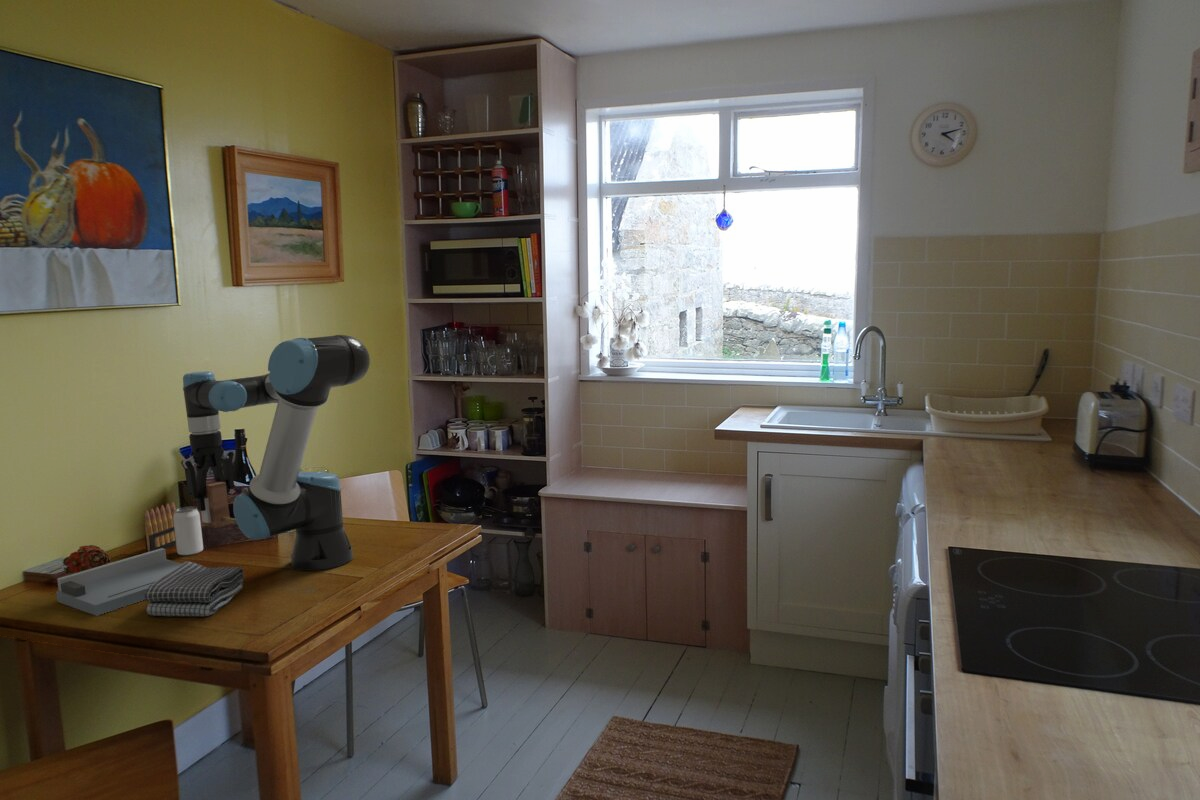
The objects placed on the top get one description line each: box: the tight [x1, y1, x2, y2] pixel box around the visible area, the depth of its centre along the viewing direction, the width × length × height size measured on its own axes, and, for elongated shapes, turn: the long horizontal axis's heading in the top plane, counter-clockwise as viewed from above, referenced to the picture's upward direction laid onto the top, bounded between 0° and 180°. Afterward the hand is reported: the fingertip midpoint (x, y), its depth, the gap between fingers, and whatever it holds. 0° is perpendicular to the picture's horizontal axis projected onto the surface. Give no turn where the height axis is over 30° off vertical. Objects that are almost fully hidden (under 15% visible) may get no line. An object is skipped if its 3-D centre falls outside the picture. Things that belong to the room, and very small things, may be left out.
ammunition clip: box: [144, 501, 177, 553], centre depth 240 cm, size 11×2×12 cm, turn 160°
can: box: [173, 506, 204, 557], centre depth 235 cm, size 6×6×12 cm
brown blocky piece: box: [198, 480, 239, 529], centre depth 224 cm, size 14×4×11 cm, turn 56°
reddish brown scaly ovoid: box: [60, 544, 112, 574], centre depth 219 cm, size 8×8×12 cm
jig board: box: [55, 548, 183, 617], centre depth 207 cm, size 18×26×6 cm
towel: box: [144, 560, 246, 617], centre depth 196 cm, size 15×18×8 cm
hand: (215, 519), depth 227 cm, fingers closed on brown blocky piece, 4 cm apart
